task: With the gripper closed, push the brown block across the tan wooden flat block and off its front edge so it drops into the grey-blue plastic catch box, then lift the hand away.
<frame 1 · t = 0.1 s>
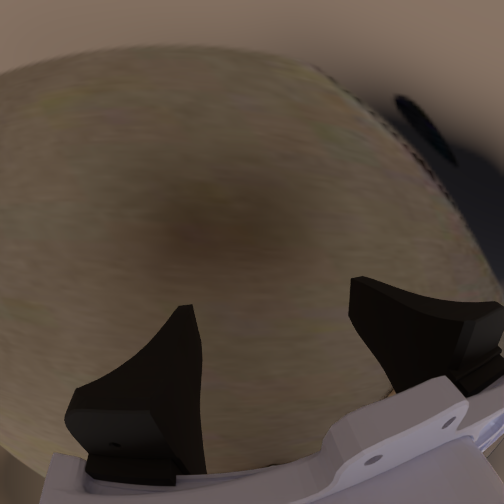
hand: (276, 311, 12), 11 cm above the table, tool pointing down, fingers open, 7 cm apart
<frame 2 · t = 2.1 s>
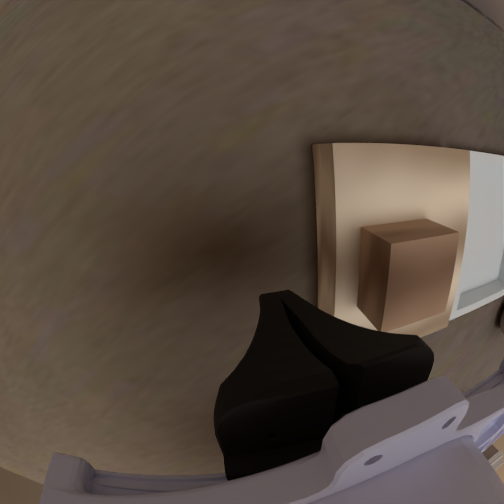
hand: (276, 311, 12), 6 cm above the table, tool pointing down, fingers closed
coffee cup: (437, 418, 31), on the table
brown block: (394, 262, 16), point 3 cm above the table, touching tan wooden flat block
catch box: (482, 227, 20), on the table
tan wooden flat block: (387, 243, 19), on the table
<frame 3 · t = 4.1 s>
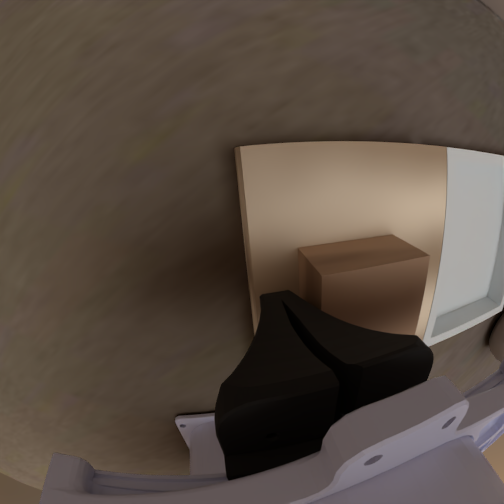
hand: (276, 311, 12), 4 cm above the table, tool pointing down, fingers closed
brown block: (347, 288, 13), point 3 cm above the table
plastic bottle: (498, 323, 23), on the table
catch box: (467, 239, 18), on the table
tan wooden flat block: (339, 263, 16), on the table
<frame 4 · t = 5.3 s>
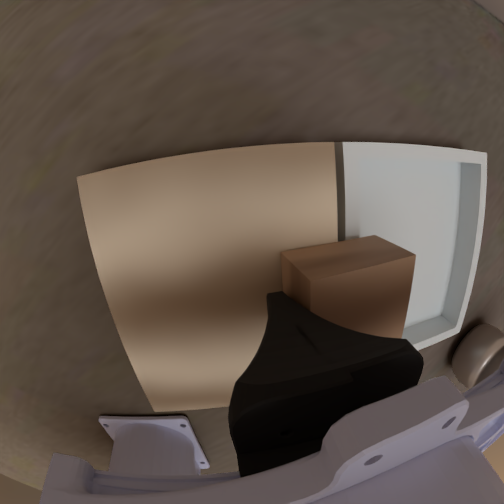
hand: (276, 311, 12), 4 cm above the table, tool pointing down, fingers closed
brown block: (331, 291, 13), point 3 cm above the table, tilted 6°, touching tan wooden flat block, gripper
plastic bottle: (465, 342, 22), on the table
catch box: (404, 251, 17), on the table
tan wooden flat block: (221, 281, 16), on the table
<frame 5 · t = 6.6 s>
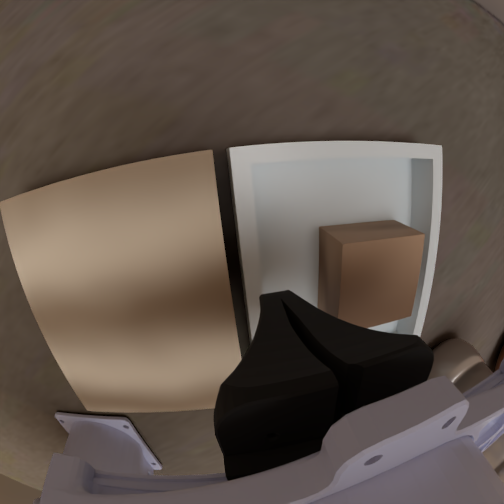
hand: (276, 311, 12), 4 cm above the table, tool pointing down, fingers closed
brown block: (383, 285, 13), point 3 cm above the table, tilted 180°, touching catch box
plastic bottle: (434, 356, 22), on the table
catch box: (338, 262, 16), on the table
tan wooden flat block: (134, 292, 15), on the table
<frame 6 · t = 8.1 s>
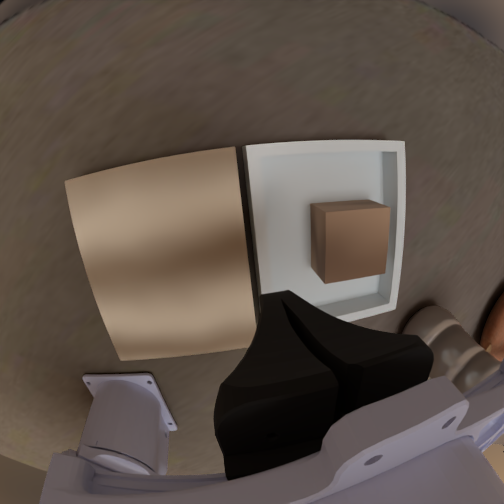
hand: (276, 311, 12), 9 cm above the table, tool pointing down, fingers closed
brown block: (358, 245, 18), point 3 cm above the table, tilted 180°, touching catch box
ceramic jug: (500, 311, 31), on the table
plastic bottle: (416, 323, 27), on the table
catch box: (326, 232, 21), on the table
tan wooden flat block: (169, 255, 20), on the table
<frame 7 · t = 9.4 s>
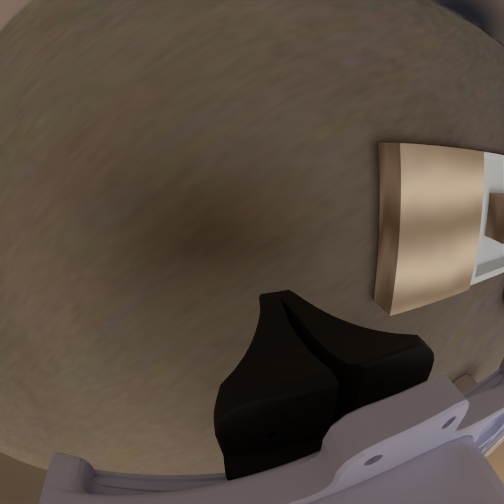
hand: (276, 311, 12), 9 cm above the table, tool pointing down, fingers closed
coffee cup: (454, 387, 35), on the table
catch box: (491, 212, 24), on the table
tan wooden flat block: (425, 220, 23), on the table
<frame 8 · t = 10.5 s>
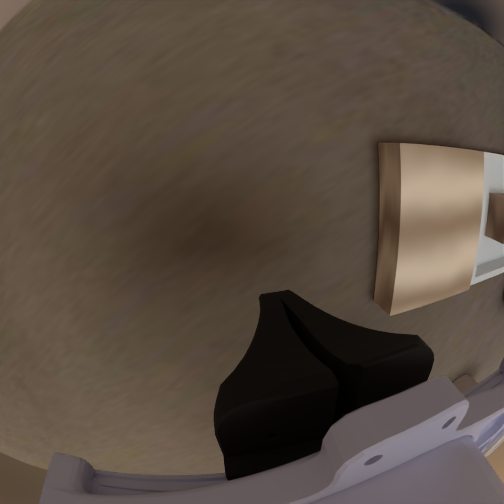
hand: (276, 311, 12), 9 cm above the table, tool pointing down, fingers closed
coffee cup: (454, 387, 35), on the table
catch box: (491, 212, 24), on the table
tan wooden flat block: (425, 220, 23), on the table
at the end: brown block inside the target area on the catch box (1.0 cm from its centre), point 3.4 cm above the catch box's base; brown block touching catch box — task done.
